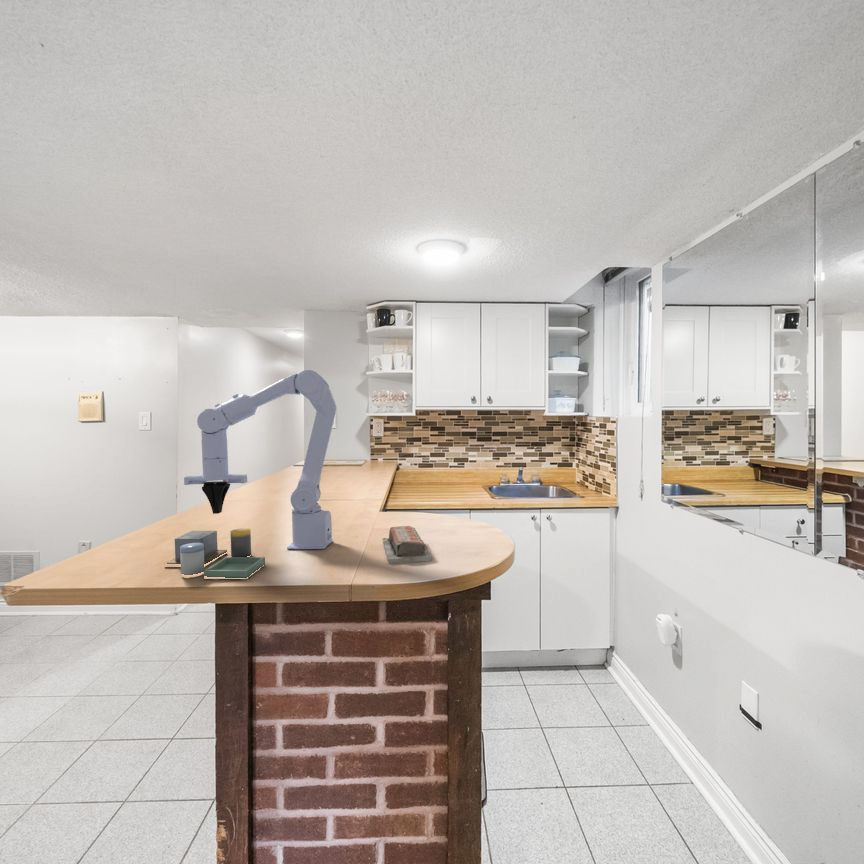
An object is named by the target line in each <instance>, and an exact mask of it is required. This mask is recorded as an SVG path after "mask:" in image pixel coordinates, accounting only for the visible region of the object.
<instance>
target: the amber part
mask: <svg viewBox="0 0 864 864" xmlns="http://www.w3.org/2000/svg"><path fill="white" fill-rule="evenodd" d="M251 531H252V530H251V528H245V527H244V528H243V527H242V528H236V529H232V530H231V531H230V535H229V536H230V557H231V556H232V557H247V556H250V555H251V556H252V537H251ZM251 556H250V557H251Z"/></svg>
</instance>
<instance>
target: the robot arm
mask: <svg viewBox="0 0 864 864" xmlns="http://www.w3.org/2000/svg"><path fill="white" fill-rule="evenodd" d="M331 391H332V390H331V389H330V386H329V384H328V382H327V381H326V380H325V379H324V377H322V375H320V374H319V373H318V372H317V371H315V370H312V369H304V370H302V371H300V372H299V373H294V374H290V375H288V376H287V377H284V378H282V379H280V380H279V381H276V382H275V383H273V384H271V385H269V386H267V387H265V388H262V389H261V390H259V391H257V392H255V393H254V394H251V395H248V394H245V393H242V394H238V393H236V394H234V395H232V399H230V400H228V401H225V402H223V403H221V404H220V403H216V404H215V405H214V407H215V408H206V409H204V410H203V411H202V412H200V414H199V415H198V416H197V420H196V422H197V425H198V426H197V427H198V428H199V430H201V432H200V433H201V460H202V462H201V463H202V474H201V475H189V476H187V475H186V476H184V477H183V483H184V486H191V485H203V486H201V490H202V491H203V493H204V495H205V496H206V498H207V500H208V502H209V504H210V507H211V511H212V515H216V514H220V513H222V512H223V505H224V502H225V498H226V496H227V494H228V492H229V489H230V487H231V484H246V483H248V474H229V458H228V457H229V456H228V439H227V438H228V437H227V430H228V428H229V427H230V426H234V425H236V424H238V423H240V422H242V421H245V419H246V420H247V419H248V418H250V417H253V416H254V415H256V411H257V409H258V408H259V407H262V406H263V405H265V404H267V403H270V402H272V401H275V400H277V399H280V398H281V397H283V396H285V395H300V394H301V395H303V396H304V397H305V398H306V399H307V400H308V401H309V402H310V403H311V404H310V405H312V406H313V408H314V409H315V412H316V413H315V416H314V421H313V426H312V430H311V433H310V439H309V441H308V446H307V450H306V455H305V458H304V463H303V466H302V472H301V475H300V477H299V479H298V482H297V486H296V488H295V489H294V490H293V492H292V493H291V495H290V504H291V506H292V509H291V523H292V524H291V527H292V534H291V535H292V543H290V544H288V546H287V547H286V549H287V550H325V549H326V548H327V547H328V546H329V545H330V544H331V543H332V542H333V537H332V536H333V534H332V533H333V531H332V530H333V529H332V514H331V512H330V511H329V510H323V509H322V506H321V505H320V504H319V503H318V502H319V500H320V499H321V494H322V493H321V487H320V483H321V477H322V476H321V475H322V471H323V467H324V463H325V458H326V454H327V450H328V447H329V442H330V438H331V433H332V431H333V430H332V429H333V426H334V425H333V424H334V421H335V417H336V414H337V413H336V412H337V405H336V401H335V399H334V396H333V394H332V392H331Z"/></svg>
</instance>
